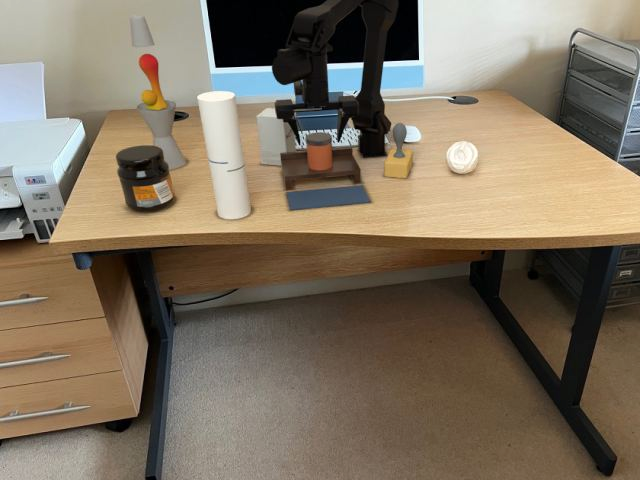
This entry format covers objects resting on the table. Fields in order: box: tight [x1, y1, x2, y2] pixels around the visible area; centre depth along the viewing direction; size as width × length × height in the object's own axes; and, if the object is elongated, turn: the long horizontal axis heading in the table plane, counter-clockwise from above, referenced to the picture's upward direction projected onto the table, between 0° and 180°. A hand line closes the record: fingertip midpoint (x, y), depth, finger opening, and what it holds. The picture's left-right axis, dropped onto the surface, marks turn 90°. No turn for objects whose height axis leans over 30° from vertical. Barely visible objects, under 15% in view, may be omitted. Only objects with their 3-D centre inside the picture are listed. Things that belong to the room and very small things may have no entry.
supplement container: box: [115, 144, 176, 213], centre depth 126 cm, size 10×10×12 cm
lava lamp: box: [129, 14, 187, 171], centre depth 139 cm, size 9×9×35 cm
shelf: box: [280, 146, 362, 191], centre depth 141 cm, size 18×11×5 cm, turn 103°
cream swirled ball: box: [445, 140, 480, 175], centre depth 143 cm, size 8×8×8 cm
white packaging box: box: [255, 107, 297, 166], centre depth 148 cm, size 7×7×13 cm
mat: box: [286, 184, 371, 211], centre depth 132 cm, size 18×9×1 cm, turn 103°
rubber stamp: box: [383, 122, 414, 179], centre depth 143 cm, size 10×6×12 cm, turn 169°
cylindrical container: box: [196, 90, 252, 220], centre depth 119 cm, size 7×7×25 cm
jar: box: [304, 131, 333, 170], centre depth 137 cm, size 6×6×7 cm
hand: (319, 143), depth 136 cm, fingers open, 9 cm apart
